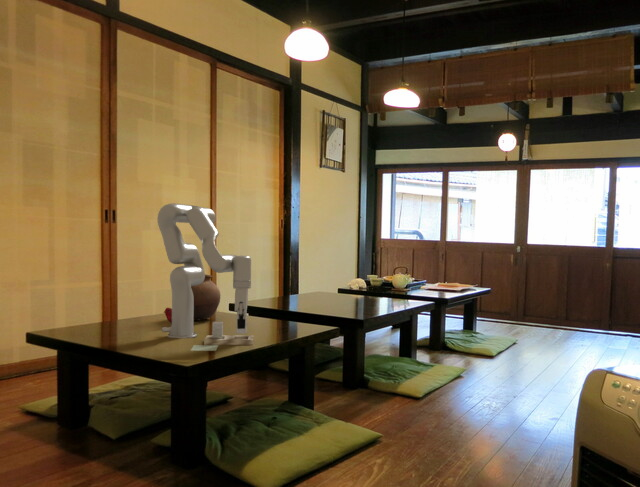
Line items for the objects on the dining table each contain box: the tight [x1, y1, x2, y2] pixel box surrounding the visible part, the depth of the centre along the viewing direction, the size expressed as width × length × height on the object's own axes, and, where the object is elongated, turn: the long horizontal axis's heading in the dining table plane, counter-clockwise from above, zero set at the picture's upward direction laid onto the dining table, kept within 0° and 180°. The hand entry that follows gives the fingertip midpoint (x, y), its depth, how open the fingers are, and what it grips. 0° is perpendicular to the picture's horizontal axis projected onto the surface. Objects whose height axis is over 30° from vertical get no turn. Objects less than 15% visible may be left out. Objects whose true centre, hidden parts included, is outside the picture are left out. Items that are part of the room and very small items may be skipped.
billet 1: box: [211, 321, 224, 339], centre depth 230 cm, size 4×4×9 cm
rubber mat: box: [190, 344, 219, 352], centre depth 219 cm, size 10×10×1 cm
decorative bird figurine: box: [163, 307, 172, 324], centre depth 269 cm, size 3×18×10 cm, turn 139°
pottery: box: [191, 273, 221, 321], centre depth 289 cm, size 23×23×25 cm
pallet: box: [203, 334, 254, 346], centre depth 231 cm, size 20×10×2 cm, turn 95°
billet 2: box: [236, 310, 248, 334], centre depth 231 cm, size 4×4×9 cm
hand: (241, 327), depth 231 cm, fingers closed on billet 2, 4 cm apart
